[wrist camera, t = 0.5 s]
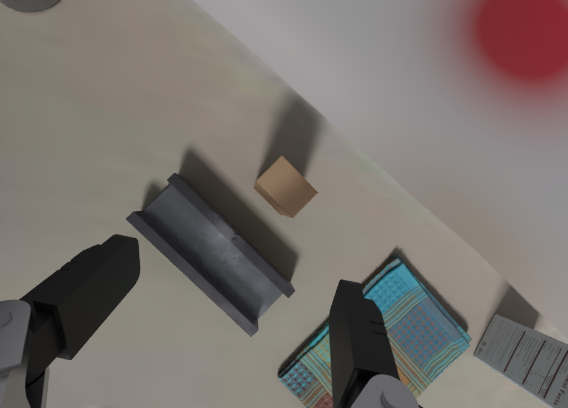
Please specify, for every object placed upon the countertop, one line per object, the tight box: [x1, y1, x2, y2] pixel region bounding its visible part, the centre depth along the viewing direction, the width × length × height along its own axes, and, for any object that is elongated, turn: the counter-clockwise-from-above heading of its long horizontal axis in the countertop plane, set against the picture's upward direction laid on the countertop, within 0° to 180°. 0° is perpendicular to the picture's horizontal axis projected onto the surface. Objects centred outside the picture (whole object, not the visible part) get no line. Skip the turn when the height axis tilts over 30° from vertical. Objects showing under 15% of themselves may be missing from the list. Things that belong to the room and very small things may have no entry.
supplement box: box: [474, 314, 568, 408], centre depth 36 cm, size 7×7×13 cm
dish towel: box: [278, 254, 472, 408], centre depth 39 cm, size 17×23×3 cm
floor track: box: [126, 173, 295, 337], centre depth 35 cm, size 20×8×4 cm, turn 45°
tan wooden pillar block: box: [254, 156, 318, 218], centre depth 33 cm, size 5×4×11 cm
